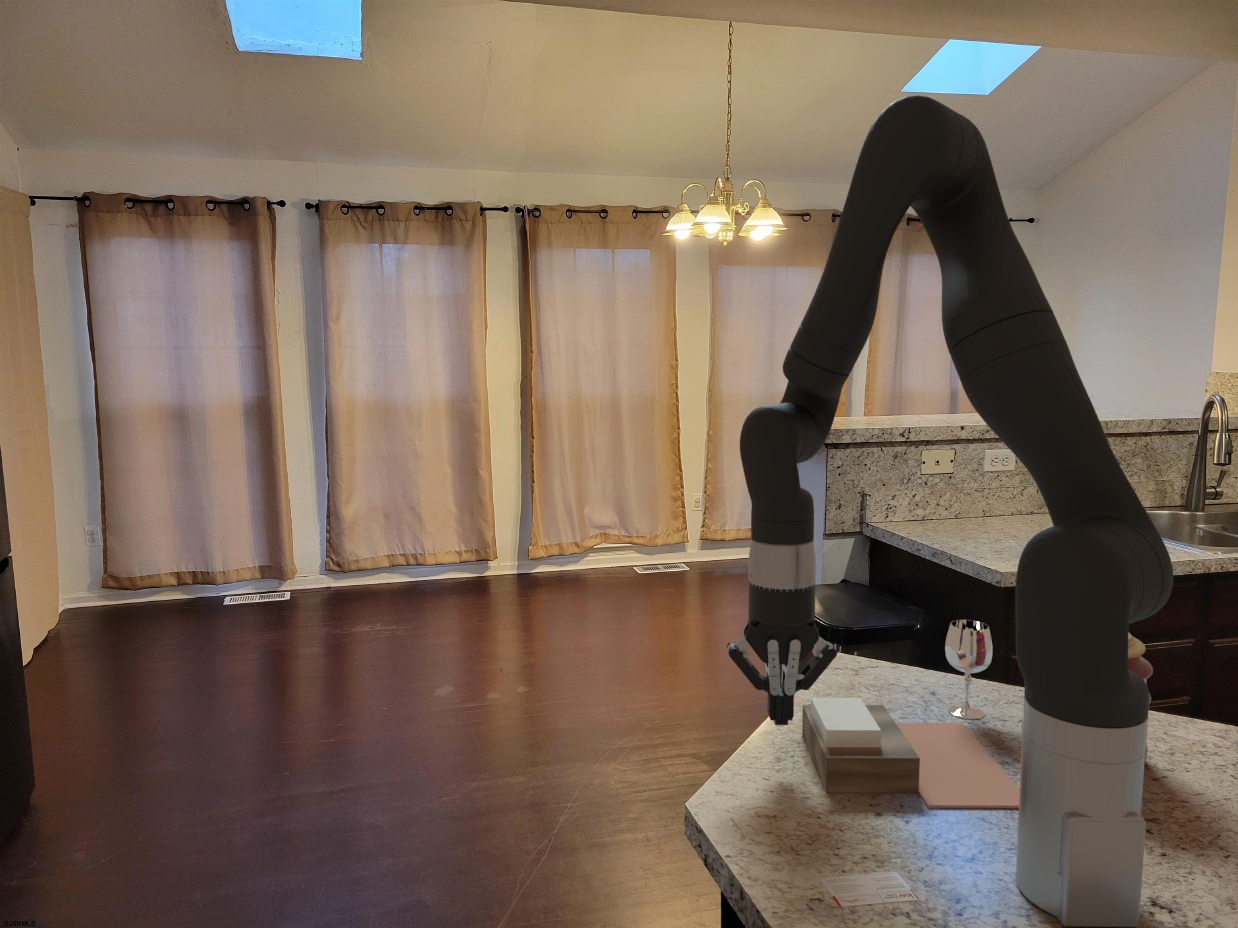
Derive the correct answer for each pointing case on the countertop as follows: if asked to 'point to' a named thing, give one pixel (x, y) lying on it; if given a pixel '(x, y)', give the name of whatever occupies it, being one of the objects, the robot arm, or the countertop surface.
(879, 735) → the pale grey rectangular block
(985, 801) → the mat
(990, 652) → the wineglass
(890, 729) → the block
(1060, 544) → the robot arm
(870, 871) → the countertop surface
